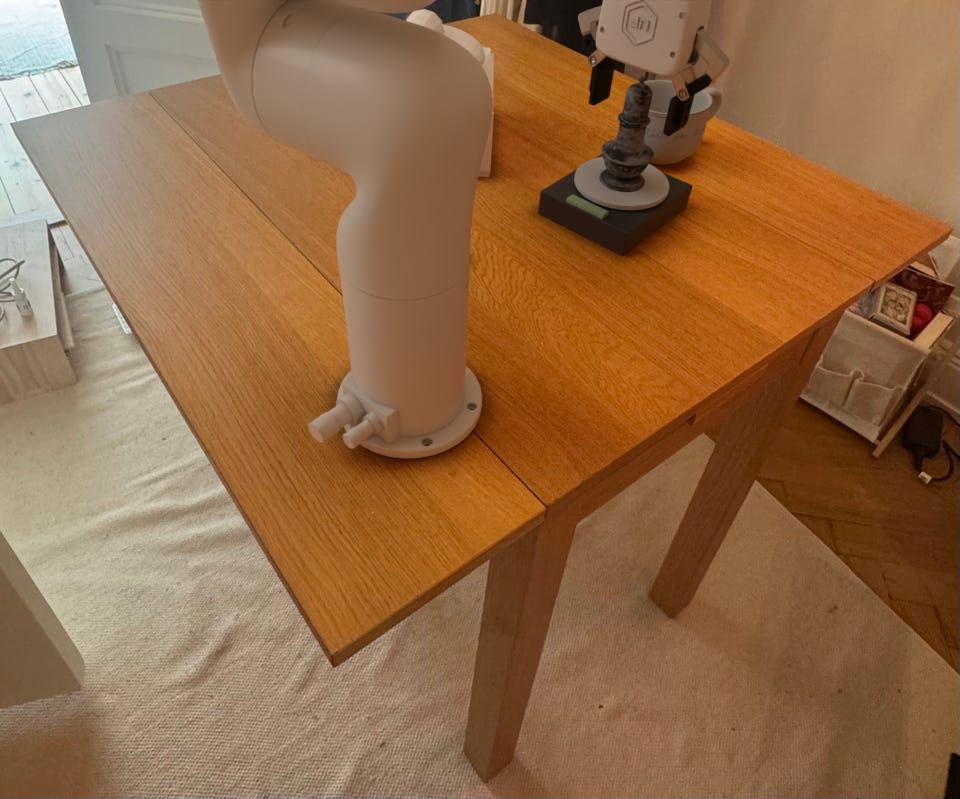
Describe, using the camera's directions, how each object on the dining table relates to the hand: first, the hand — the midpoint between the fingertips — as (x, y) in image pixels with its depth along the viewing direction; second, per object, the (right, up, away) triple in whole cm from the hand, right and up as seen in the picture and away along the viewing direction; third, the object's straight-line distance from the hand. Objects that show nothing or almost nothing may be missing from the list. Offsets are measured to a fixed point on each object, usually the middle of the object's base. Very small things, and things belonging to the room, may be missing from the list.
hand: (634, 115), depth 79 cm
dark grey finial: (0, -5, +6) cm, 8 cm away
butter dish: (-24, +4, +18) cm, 31 cm away
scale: (-1, -8, +8) cm, 12 cm away
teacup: (+8, +2, +19) cm, 20 cm away
